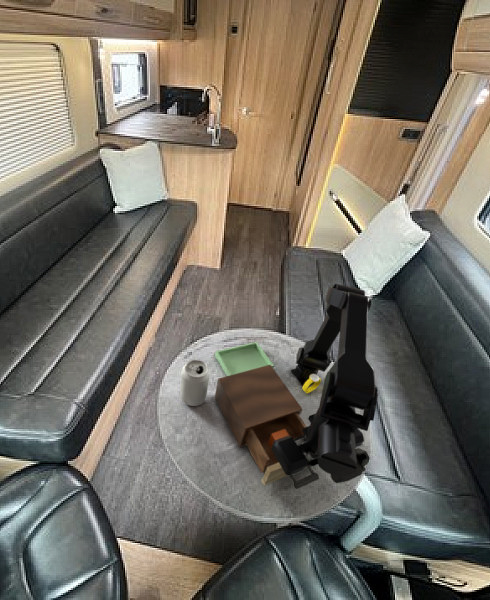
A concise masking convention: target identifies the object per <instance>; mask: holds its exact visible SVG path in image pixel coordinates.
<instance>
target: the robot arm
mask: <svg viewBox="0 0 490 600" xmlns="http://www.w3.org/2000/svg"><path fill="white" fill-rule="evenodd" d="M372 301H373V297H371V296H368V295H366V291H365V290H364V289H360V288H356V287H353V286H352V287H351V286H347V285H343V284H339V283H333V284H332V286H330V287H328V289H327V292H326V296H325V303H326V308H325V313H326V315H325V317H324V319H323V321H322V323H321V325H320V327H319V329H318V330H317V332H316V335H315V337H314V338H313V339H311V340H307V341H305V343H304V344H303V347H302V346H301V347H298V350H297V353H296V362H295V364H296V367H295V368H292V369H291V370H290V372H291V374H292V375H293V377H294V378H295V379H296V381H298V383H299V384H300V385H301V386H302V387H303V385H304V384H305V382H306V381H307V380H308V379H309V377H310V375H311V374H316V375H318V373H319V371H321V372H324V373H325V372H326V371H327V370H328V368H329V367H330V365H331V364H332V362H333V360H332V355H331V347H332V346H333V344H334V342H335V341H336V339H337V337H339V338H338V347H337V348H338V349H337V356H336V357H337V359H336V360H335V361H334V363H333V364H332V365H331V367H330V368H329V370H328V371H327V372H326V373H325V377H324V379H323V386H322V391H321V396H320V402H319V406H318V408H317V410H316V412H315V413H313V414H309V415H308V417H307V420H308V421H309V423H310V424H309V425H306V426H307V427H305V428H303V430H302V432H303V433H304V435H303V436H300V437H298V438H295V439H293V438H292V437H291V436H286V437H283V438H280V439H278V440H275V441H274V442H273V445H272V448H271V450H272V452H273V453H274V455H275V457H276V458H277V460H278V462H279V464H280V465H281V467H282V469H283V471H284V472H285V474H286V475H288V476H287V477H290V476H291V475H293V476H294V475H296V474H298V473H300V472H302V471H304V470H305V469H307V468H306V467H308V466H311V467H315V466H318V467H319V468H320V469H321V470H322V471H323V472H325V473H327V474H328V475H330V478H331V480H332V482H333V483H336V484H340V483H345V482H350V481H351V480H354V479H356V478H357V477H360V476H362V475H363V473H364V472H365V471H366V470H367V468H366V467H365V466H367V465H368V464H369V461H370V460H371V457H370V455H369V454H368V451H367V450H365V449H362V448H359V447H361V446H362V444H363V443H364V442H365V438H364V434H363V432H362V431H365V432H368V431H369V429H370V428H369V427H370V423H371V421H372V422H374V419H375V415H376V409H377V404H378V399H379V393H378V392H379V388H378V387H377V385H376V378H375V376H376V375H375V370H374V368H373V366H372V365H371V363H370V362H369V361H368V357H367V345H368V320H369V319H368V318H369V312H370V310H371V306H372ZM338 335H339V336H338ZM312 384H314V382H313V383H312ZM356 409H358V410H360V411H363V413H362V414H360V413H357V411H356ZM361 430H362V431H361Z"/></svg>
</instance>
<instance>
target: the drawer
mask: <svg viewBox="0 0 490 600" xmlns="http://www.w3.org/2000/svg"><path fill="white" fill-rule="evenodd" d="M307 426H308V425H306V423H305V422H304V420H303V419H302V417H301V415H300V416H299V415H298V413H294V414H291V415H288V416H285V417H282V418H279V419H277V420H274V421H271V422H268V423H265V424H262V425H259V426H256V427H254V428H251V429H248V430H247V433H246V437H245V440H244V441H245V443H246V445H245V446H246V447H247V449H248V451H249V453H250V454H251V457H252V459H253V461H254V463H255V464H256V466H257V468H258V470H259V471H260V473H261V474H263V476H262V479H261V483H262V485H263V486H264V487H266V486H268V485H270V484H272V483H275V482H277V481H279V480H282V479H285V478H286V477H289V478H290V479H291V481H292V485H293V488H294V489H295V490H298V489H301V488H303V487H305V486H307V485H310V484H311V483H314V482H316V481H318V480H320V475H319V474H318V473H317V472H315V471H314V469H313V467H312V466H308V467H306V468H305V469H308V471H309V473H310V474H308V475H307V476H305V477H302V478H299V479H297V478H296V477H295V476H294V475H291V476H288V475H286V474H285V472H284V471H283V469H282V467H281V465H280V464H279V462H278V460H277V458H276V457H275V455H274V453H273V452H272V450H271V447H270V446H269V444H268V441H269V438H270V436H271V434H272V433H275V432H277V431H280V430H283V429H285V430H286V431H287V433H288V434H289V436H291V437H292V438H293V439H295V438H298V437H300V436H303V435H304V433H303V432H302V430H303V428H305V427H307ZM296 479H297V480H296Z"/></svg>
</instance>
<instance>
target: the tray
mask: <svg viewBox="0 0 490 600" xmlns="http://www.w3.org/2000/svg"><path fill="white" fill-rule="evenodd" d="M214 356H215V358H216V360H217V363H218V364H219V365H220V367H221V369H222V370H223V372H224V374H225V375H226V376H230V375H233V374H237V373H241V372H244V371H248V370H252V369H256V368H259V367H263V366H267V365H271V366H272V368H273V369H274V368H275V365H274V363H273V362H272V361H271V359H270V358H269V356H268V355H267V354H266V353H265V351H264V349H262V347H261V346H260V344H259V343H258V342H257V341H254V342H250V343H246V344H241V345H237V346H233V347H228V348H224V349H220V350H216V351H215V355H214Z"/></svg>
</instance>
